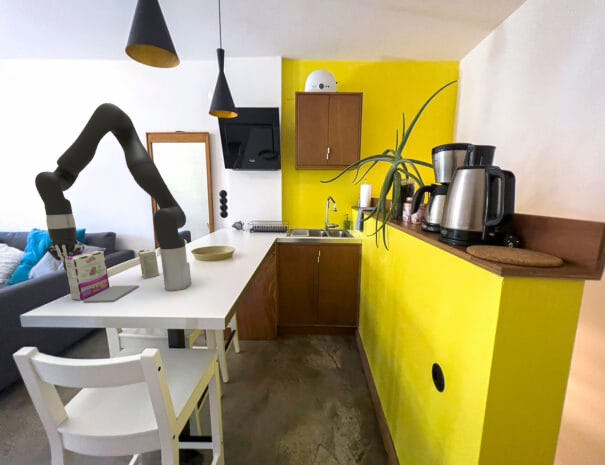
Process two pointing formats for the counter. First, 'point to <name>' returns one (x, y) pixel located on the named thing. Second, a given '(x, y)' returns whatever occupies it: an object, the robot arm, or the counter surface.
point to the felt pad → (111, 294)
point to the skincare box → (148, 264)
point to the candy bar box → (87, 274)
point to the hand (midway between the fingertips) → (69, 270)
